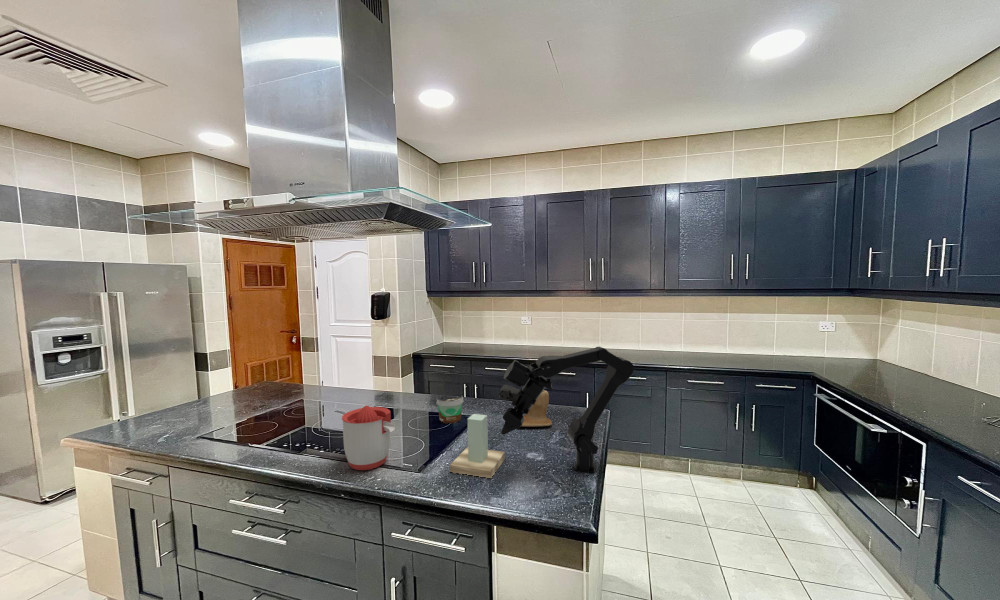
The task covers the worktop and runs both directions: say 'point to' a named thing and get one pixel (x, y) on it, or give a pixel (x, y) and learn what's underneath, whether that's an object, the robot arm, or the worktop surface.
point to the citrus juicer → (367, 436)
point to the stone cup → (538, 412)
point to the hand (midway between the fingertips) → (506, 427)
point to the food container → (450, 410)
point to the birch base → (478, 464)
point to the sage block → (477, 438)
